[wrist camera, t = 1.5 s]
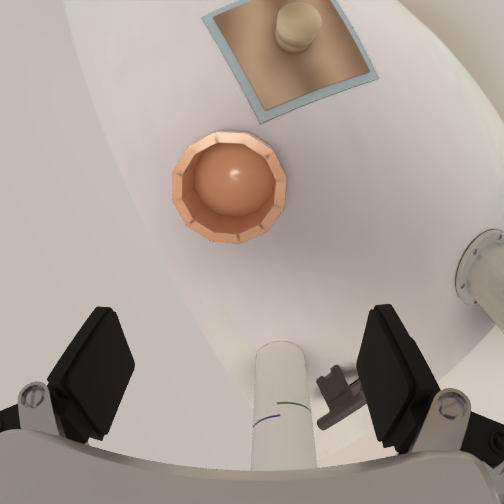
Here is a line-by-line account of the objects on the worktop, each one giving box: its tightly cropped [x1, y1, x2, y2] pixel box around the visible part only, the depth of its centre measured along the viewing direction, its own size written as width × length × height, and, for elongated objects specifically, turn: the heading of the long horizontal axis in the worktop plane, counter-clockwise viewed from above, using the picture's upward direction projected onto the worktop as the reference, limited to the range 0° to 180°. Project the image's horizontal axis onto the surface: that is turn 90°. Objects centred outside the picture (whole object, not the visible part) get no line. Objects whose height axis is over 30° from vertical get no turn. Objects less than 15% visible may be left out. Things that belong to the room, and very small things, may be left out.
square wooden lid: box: [213, 0, 370, 111], centre depth 20 cm, size 12×12×7 cm
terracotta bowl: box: [172, 131, 287, 244], centre depth 28 cm, size 10×10×6 cm
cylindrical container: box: [251, 341, 317, 471], centre depth 30 cm, size 7×7×25 cm
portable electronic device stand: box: [316, 365, 367, 430], centre depth 40 cm, size 9×8×8 cm
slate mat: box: [201, 0, 379, 124], centre depth 24 cm, size 14×14×1 cm
